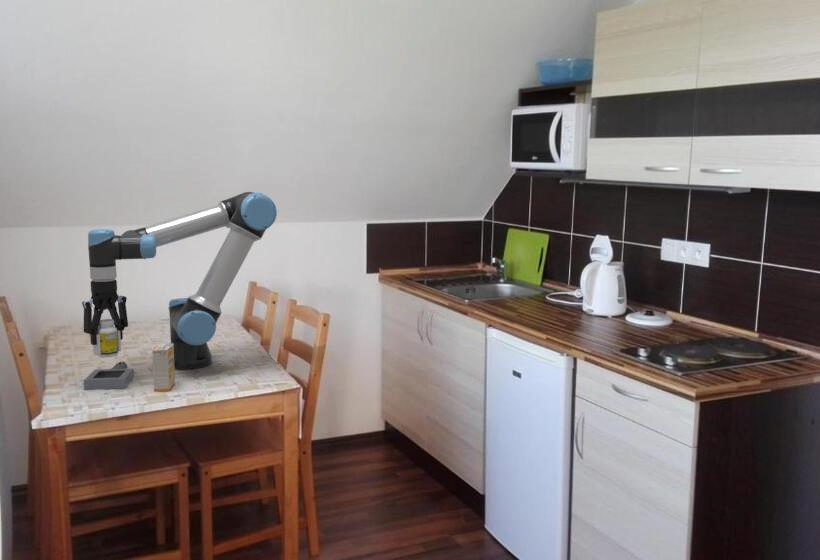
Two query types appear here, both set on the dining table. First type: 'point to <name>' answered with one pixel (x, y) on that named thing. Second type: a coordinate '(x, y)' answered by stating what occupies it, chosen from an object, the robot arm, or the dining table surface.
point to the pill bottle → (108, 338)
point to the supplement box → (163, 367)
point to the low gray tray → (110, 378)
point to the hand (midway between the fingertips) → (107, 352)
